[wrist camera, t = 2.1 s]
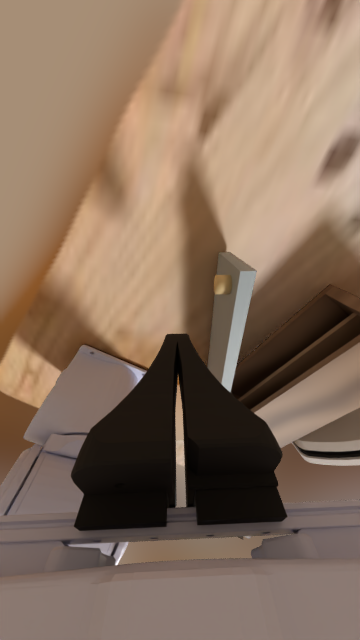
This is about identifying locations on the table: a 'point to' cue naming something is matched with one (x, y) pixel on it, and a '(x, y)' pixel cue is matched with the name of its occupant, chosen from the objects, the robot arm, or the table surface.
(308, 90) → the table surface
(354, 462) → the grey curved piece
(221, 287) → the door
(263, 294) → the table surface
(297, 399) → the cabinet
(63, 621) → the robot arm
